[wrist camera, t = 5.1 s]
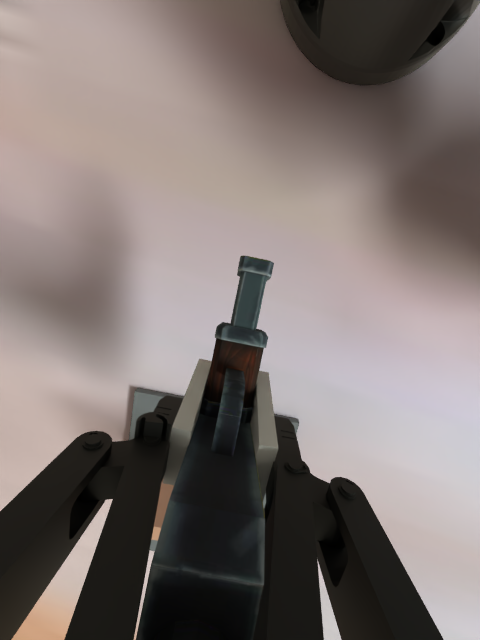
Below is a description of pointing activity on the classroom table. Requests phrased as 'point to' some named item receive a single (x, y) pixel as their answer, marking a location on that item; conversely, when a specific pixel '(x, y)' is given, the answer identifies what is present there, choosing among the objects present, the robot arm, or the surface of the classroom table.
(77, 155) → the classroom table surface
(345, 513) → the robot arm
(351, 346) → the classroom table surface
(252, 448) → the gun
